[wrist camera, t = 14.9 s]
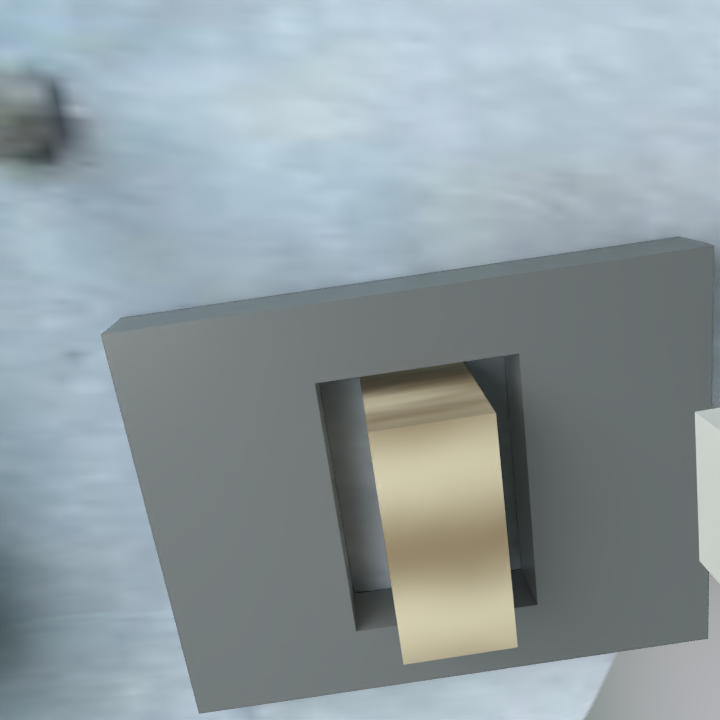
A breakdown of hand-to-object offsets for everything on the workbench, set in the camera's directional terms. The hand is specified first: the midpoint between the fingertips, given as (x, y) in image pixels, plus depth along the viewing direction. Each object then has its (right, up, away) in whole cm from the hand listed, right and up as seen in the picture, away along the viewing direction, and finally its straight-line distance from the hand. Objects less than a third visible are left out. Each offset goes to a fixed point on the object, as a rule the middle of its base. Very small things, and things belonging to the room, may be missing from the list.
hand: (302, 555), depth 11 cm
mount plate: (+4, -2, +23) cm, 24 cm away
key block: (+4, -2, +24) cm, 24 cm away
